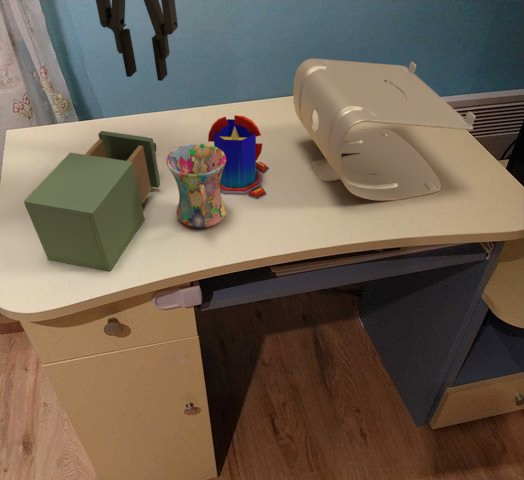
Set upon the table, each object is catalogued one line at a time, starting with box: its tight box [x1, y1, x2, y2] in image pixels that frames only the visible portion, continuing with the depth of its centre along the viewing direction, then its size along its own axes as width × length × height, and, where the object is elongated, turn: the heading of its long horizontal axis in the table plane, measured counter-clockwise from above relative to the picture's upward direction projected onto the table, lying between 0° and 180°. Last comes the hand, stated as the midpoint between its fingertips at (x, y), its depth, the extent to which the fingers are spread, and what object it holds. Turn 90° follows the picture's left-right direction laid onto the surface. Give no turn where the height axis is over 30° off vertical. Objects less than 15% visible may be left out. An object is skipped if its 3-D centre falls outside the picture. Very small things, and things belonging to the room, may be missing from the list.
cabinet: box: [23, 152, 146, 272], centre depth 77 cm, size 14×11×11 cm
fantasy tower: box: [207, 114, 270, 200], centre depth 88 cm, size 12×12×12 cm
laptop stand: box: [292, 58, 476, 202], centre depth 90 cm, size 26×24×16 cm
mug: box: [165, 143, 227, 228], centre depth 80 cm, size 12×9×11 cm
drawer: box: [84, 130, 161, 205], centre depth 84 cm, size 17×9×9 cm, turn 166°
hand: (147, 75), depth 86 cm, fingers open, 5 cm apart
